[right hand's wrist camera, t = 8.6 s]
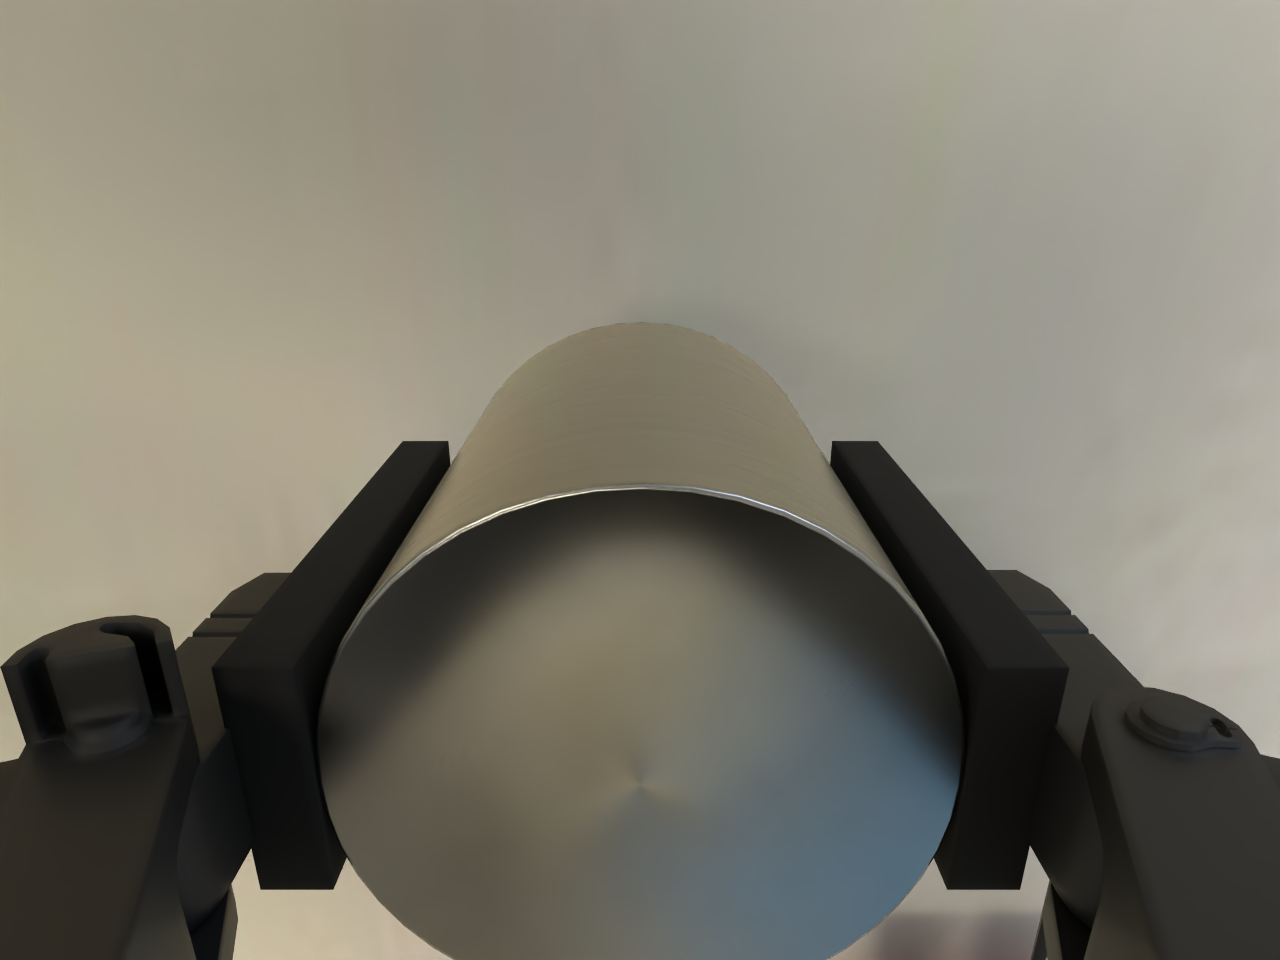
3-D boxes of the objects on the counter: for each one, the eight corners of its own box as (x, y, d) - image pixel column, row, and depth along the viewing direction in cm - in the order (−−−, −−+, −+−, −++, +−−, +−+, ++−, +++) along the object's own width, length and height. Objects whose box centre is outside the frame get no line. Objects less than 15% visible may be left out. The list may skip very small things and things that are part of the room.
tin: (609, 698, 17) (588, 1086, 10) (393, 463, 15) (173, 732, 8) (880, 526, 15) (1082, 832, 8) (677, 243, 13) (719, 332, 6)
